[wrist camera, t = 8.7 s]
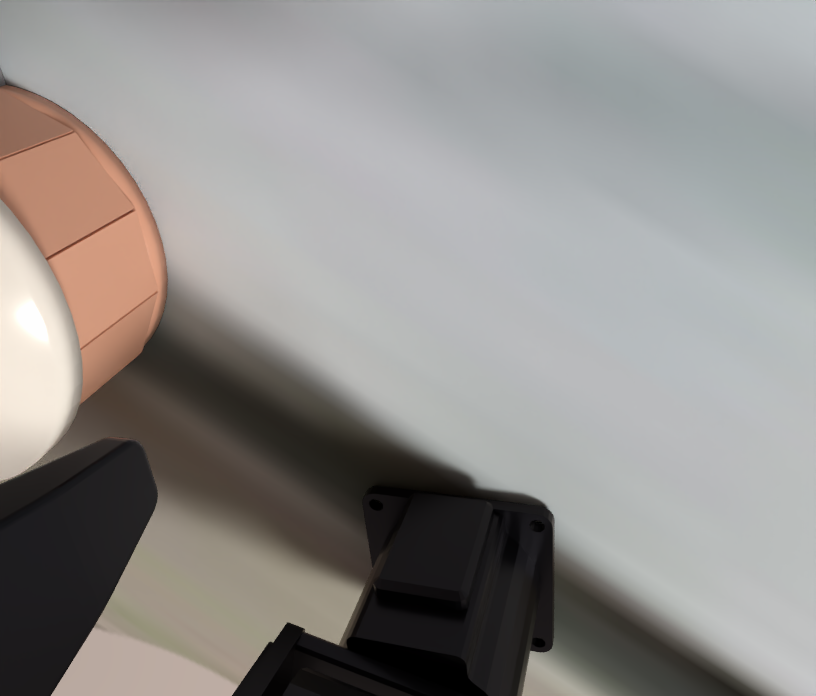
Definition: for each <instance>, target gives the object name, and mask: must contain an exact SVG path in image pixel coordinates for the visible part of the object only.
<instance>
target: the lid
mask: <svg viewBox="0 0 816 696" xmlns="http://www.w3.org/2000/svg"><path fill="white" fill-rule="evenodd" d="M82 386H83V366H82V355H81V350H80V344H79V338H78V334H77V331H76V327H75V324H74V321H73V317H72V314H71V311H70V309H69V306H68V304H67V301H66V299H65V296H64V294H63V292H62V289H61V287H60V285H59V283H58V281H57V279H56V277H55V275H54V274H53V272H52V270H51V268H50V266H49V264H48V262H47V260H46V259H45V257H44V256H43V254H42V253H41V251H40V250H39V248H38V247H37V245H36V243H35V242H34V240H33V239H32V237H31V236H30V234H29V233H28V232H27V230H26V229H25V228H24V227H23V225H22V224H21V223H20V221H19V220H18V219H17V218H16V216H15V215H14V214H13V212H12V211H11V210H10V209H9V208H8V207H7V206H6V204H5V203H4V202H3V201H2V200H1V199H0V481H2V480H6V479H9V478H12V477H14V476H16V475H18V474H20V473H22V472H24V471H25V470H26V469H28V468H29V467H30V466H32V465H33V464H34V463H36V462H37V461H38V460H39V459H40V458H41V457H42V456H44V455H45V454H46V453H47V452H48V451H49V450H50V449H52V448H53V447H54V446H55V445H56V444H57V443H58V442H59V441H60V440H61V439H62V438H63V436H64V435H65V434H66V433H67V432H68V430H69V428H70V427H71V425H72V423H73V421H74V419H75V417H76V414H77V411H78V408H79V404H80V401H81V394H82Z"/></svg>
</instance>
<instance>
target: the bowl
mask: <svg viewBox="0 0 816 696" xmlns="http://www.w3.org/2000/svg"><path fill="white" fill-rule="evenodd" d="M0 199H1V200H2V201H3V202H4V203H5V204H6V206H7V207H8V208H9V209H10V210H11V211H12V212H13V214H14V215H15V216H16V218H17V219H18V220H19V221H20V223H21V224H22V225H23V227H24V228H25V229H26V230H27V232H28V233H29V234H30V236H31V237H32V239H33V240H34V242H35V243H36V245H37V247H38V248H39V250H40V251H41V253H42V254H43V256H44V257H45V259H46V260H47V262H48V264H49V266H50V268H51V270H52V272H53V274H54V275H55V277H56V279H57V281H58V283H59V285H60V287H61V289H62V292H63V294H64V296H65V299H66V301H67V304H68V306H69V309H70V311H71V314H72V317H73V321H74V324H75V327H76V331H77V334H78V338H79V344H80V350H81V355H82V366H83V386H82V394H81V401H80V404H81V403H83V402H84V401H85V400H86V399H87V398H89V397H90V396H91V395H92V394H93V393H94V392H96V391H97V390H98V389H99V388H100V387H102V386H103V385H104V384H105V383H106V382H107V381H109V380H110V379H111V378H112V377H113V376H115V375H116V374H117V373H118V372H119V371H120V370H122V369H123V368H124V367H125V366H126V365H128V364H129V363H130V362H131V361H132V360H133V359H135V358H136V357H137V356H138V355H139V354H141V352H142V350H143V347H144V346H145V344H146V343H147V342H148V341H149V340H150V339H151V338H152V336H153V334H154V332H155V331H156V329H157V327H158V326H159V323H160V320H161V318H162V315H163V312H164V308H165V303H166V298H167V282H168V278H167V266H166V258H165V253H164V248H163V244H162V240H161V237H160V234H159V231H158V228H157V225H156V222H155V219H154V217H153V215H152V213H151V210H150V208H149V206H148V204H147V201H146V200H145V198H144V196H143V194H142V193H141V191H140V189H139V187H138V186H137V184H136V182H135V181H134V179H133V178H132V176H131V175H130V174H129V172H128V171H127V169H126V168H125V166H124V165H123V164H122V162H121V161H120V160H119V159H118V158H117V156H116V155H115V154H114V153H113V152H112V151H111V149H110V148H109V147H108V146H107V145H106V144H105V143H104V142H103V141H102V140H101V139H100V138H99V137H98V136H97V135H96V134H95V133H94V132H93V131H92V130H91V129H90V128H88V127H87V126H86V125H84V124H83V123H82V122H81V121H79V120H78V119H77V118H76V117H74V116H73V115H72V114H70V113H69V112H67V111H66V110H64V109H62V108H61V107H59V106H58V105H56V104H55V103H53V102H51V101H49V100H47V99H45V98H43V97H41V96H39V95H36V94H34V93H32V92H29V91H26V90H23V89H20V88H17V87H14V86H8V85H5V86H1V87H0ZM80 404H79V405H80Z"/></svg>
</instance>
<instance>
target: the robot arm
mask: <svg viewBox="0 0 816 696" xmlns="http://www.w3.org/2000/svg"><path fill="white" fill-rule="evenodd" d="M157 497H158V492H157V487H156V483H155V480H154V477H153V474H152V471H151V468H150V465H149V462H148V459H147V456H146V453H145V450H144V448H143V446H142V445H141V444H140V443H139V441H136V440H134V439H127V438H118V437H107V438H104V439H101V440H99V441H97V442H95V443H92V444H90V445H88V446H86V447H83V448H81V449H79V450H76V451H74V452H72V453H70V454H67V455H65V456H63V457H61V458H58V459H56V460H54V461H51V462H49V463H47V464H45V465H42V466H40V467H38V468H36V469H33V470H31V471H29V472H26V473H24V474H22V475H20V476H17V477H15V478H13V479H11V480H8V481H6V482H4V483H1V484H0V696H51V694H52V693H53V691H54V690H55V688H56V686H57V685H58V683H59V682H60V680H61V678H62V677H63V675H64V674H65V672H66V670H67V669H68V667H69V666H70V664H71V662H72V661H73V659H74V658H75V656H76V654H77V653H78V651H79V649H80V648H81V647H82V645H83V643H84V642H85V640H86V639H87V637H88V635H89V634H90V632H91V631H92V629H93V627H94V626H95V624H96V622H97V621H98V619H99V617H100V616H101V614H102V612H103V610H104V608H105V607H106V605H107V603H108V601H109V599H110V597H111V595H112V593H113V591H114V589H115V587H116V585H117V583H118V581H119V579H120V577H121V575H122V573H123V571H124V569H125V567H126V565H127V564H128V562H129V560H130V558H131V556H132V554H133V552H134V550H135V548H136V546H137V544H138V542H139V540H140V538H141V536H142V534H143V532H144V530H145V528H146V526H147V524H148V522H149V520H150V518H151V516H152V514H153V512H154V510H155V507H156V503H157ZM374 499H376V500H379V501H380V502H381V503H379V502H376V501H375V500H374ZM363 510H364V516H365V522H366V529H367V535H368V541H369V548H370V554H371V561H372V567H373V569H372V571H371V574H370V576H369V578H368V580H367V583H366V585H365V587H364V589H363V592H362V594H361V596H360V598H359V601H358V603H357V605H356V607H355V610H354V612H353V614H352V616H351V619H350V621H349V623H348V625H347V628H346V630H345V632H344V634H343V637H342V639H341V641H340V643H339V645H337V644H334V643H331V642H329V641H326V640H324V639H321V638H318V637H316V636H313V635H311V634H308V633H305V629H304V628H301V627H299V626H296V625H294V624H291V623H287V624H286V625H285V627H284V628H283V629H282V631H281V632H280V634H279V635H278V637H277V638H276V640H275V641H274V643H273V642H269V643H268V645H267V646H266V647H265V649H264V650H263V652H262V653H261V655H260V656H259V658H258V659H257V660H256V662H255V663H254V665H253V666H252V668H251V669H250V670H249V672H248V673H247V675H246V676H245V678H244V679H243V681H242V682H241V683H240V685H239V686H238V688H237V689H236V691H235V692H234V693H233V695H232V696H522V692H523V687H524V681H525V676H526V670H527V665H528V659H529V654H530V651H536V652H547V651H549V650H550V649H551V648H552V645H553V639H554V516H553V514H552V513H551V512H550V511H549V510H548V509H546V508H544V507H541V506H535V505H527V504H519V503H511V502H503V501H494V500H486V499H478V498H470V497H462V496H454V495H446V494H437V493H429V492H421V491H413V490H405V489H397V488H389V487H381V486H373V487H371V488H369V489H368V490H367V492H366V494H365V496H364V498H363ZM533 520H539V521H541V522H542V523H543V524H538V523H535V522H534V521H533Z"/></svg>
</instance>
